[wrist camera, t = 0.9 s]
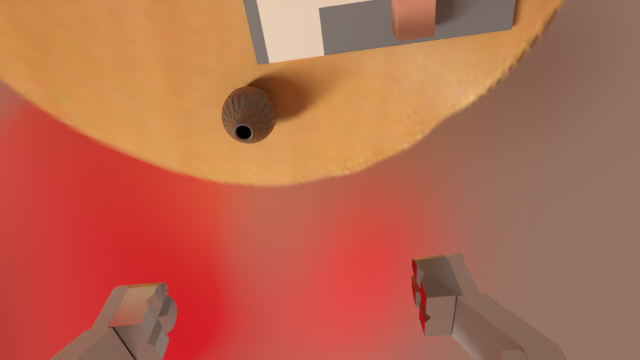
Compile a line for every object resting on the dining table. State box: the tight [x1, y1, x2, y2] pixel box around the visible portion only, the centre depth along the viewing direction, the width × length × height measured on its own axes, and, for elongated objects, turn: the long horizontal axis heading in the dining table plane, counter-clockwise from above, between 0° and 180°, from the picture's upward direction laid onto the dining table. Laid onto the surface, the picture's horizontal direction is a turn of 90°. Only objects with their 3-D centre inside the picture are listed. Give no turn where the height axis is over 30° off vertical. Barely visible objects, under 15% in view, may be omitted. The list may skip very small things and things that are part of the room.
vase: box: [222, 86, 277, 144], centre depth 47 cm, size 7×7×9 cm
